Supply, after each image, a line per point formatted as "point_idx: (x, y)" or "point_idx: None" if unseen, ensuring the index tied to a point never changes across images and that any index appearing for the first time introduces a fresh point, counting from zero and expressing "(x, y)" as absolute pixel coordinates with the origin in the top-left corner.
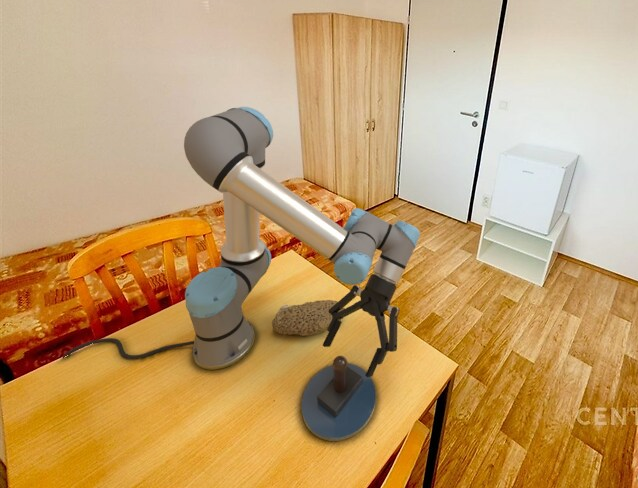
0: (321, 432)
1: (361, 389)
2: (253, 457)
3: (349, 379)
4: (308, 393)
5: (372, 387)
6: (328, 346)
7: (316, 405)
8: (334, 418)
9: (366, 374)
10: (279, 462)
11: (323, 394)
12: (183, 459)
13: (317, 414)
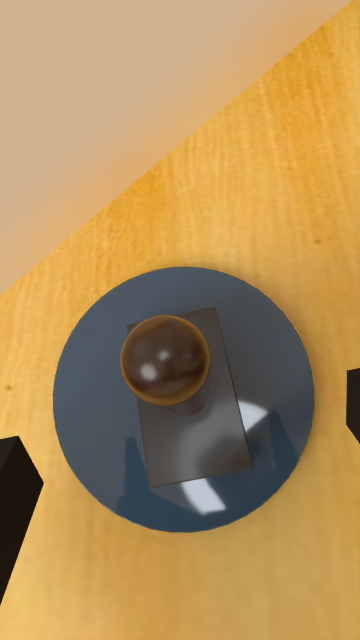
0: (134, 284)
1: (140, 461)
2: (217, 162)
3: (181, 436)
4: (261, 312)
5: (115, 501)
6: (347, 410)
7: None
8: None
9: (9, 443)
10: (165, 196)
11: (204, 326)
12: (314, 73)
13: (184, 300)
